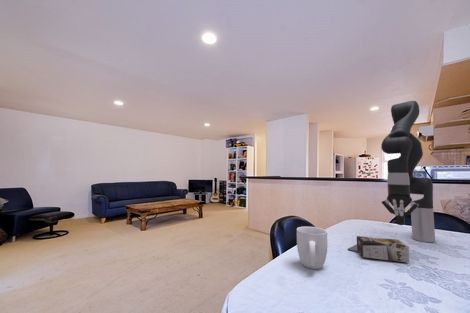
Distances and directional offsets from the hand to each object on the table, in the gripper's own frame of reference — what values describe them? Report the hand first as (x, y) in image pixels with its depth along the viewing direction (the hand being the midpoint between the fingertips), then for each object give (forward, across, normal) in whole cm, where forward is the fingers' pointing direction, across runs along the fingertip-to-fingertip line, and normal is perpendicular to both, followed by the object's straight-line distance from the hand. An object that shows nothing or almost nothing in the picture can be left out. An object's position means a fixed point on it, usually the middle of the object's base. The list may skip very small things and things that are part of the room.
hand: (400, 224), depth 90 cm
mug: (+13, +18, +38) cm, 44 cm away
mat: (+13, +10, 0) cm, 17 cm away
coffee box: (+10, -1, +2) cm, 10 cm away
